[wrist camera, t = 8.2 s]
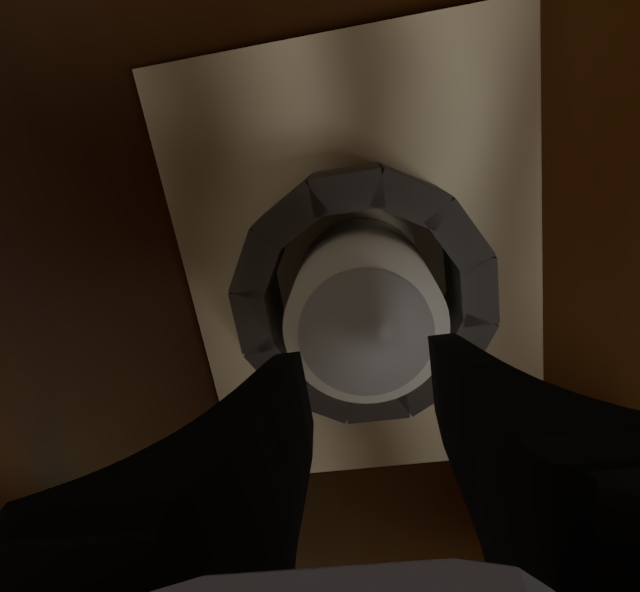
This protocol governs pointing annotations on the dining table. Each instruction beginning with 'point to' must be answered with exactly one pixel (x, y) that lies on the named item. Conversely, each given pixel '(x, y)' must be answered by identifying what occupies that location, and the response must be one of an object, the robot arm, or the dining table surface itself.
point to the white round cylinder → (364, 313)
